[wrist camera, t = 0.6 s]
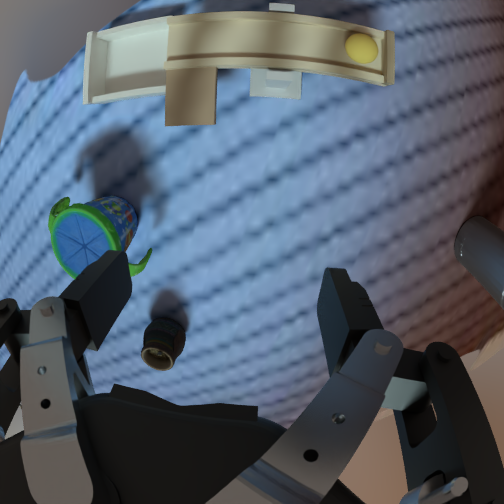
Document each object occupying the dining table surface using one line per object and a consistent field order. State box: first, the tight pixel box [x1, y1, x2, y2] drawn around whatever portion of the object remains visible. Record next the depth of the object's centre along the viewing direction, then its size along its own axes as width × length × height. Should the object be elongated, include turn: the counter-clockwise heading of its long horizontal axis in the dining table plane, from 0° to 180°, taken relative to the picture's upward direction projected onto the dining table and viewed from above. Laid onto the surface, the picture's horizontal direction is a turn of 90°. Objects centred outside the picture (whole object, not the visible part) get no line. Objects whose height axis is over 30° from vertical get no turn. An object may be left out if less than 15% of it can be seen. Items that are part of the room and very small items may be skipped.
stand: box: [250, 3, 302, 100], centre depth 24 cm, size 6×11×8 cm, turn 178°
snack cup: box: [48, 195, 152, 279], centre depth 33 cm, size 16×10×10 cm
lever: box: [163, 11, 395, 126], centre depth 22 cm, size 22×12×3 cm, turn 88°
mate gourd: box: [141, 318, 186, 371], centre depth 42 cm, size 7×8×10 cm
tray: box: [83, 16, 171, 104], centre depth 25 cm, size 11×10×5 cm
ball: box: [345, 33, 378, 64], centre depth 19 cm, size 3×3×3 cm
